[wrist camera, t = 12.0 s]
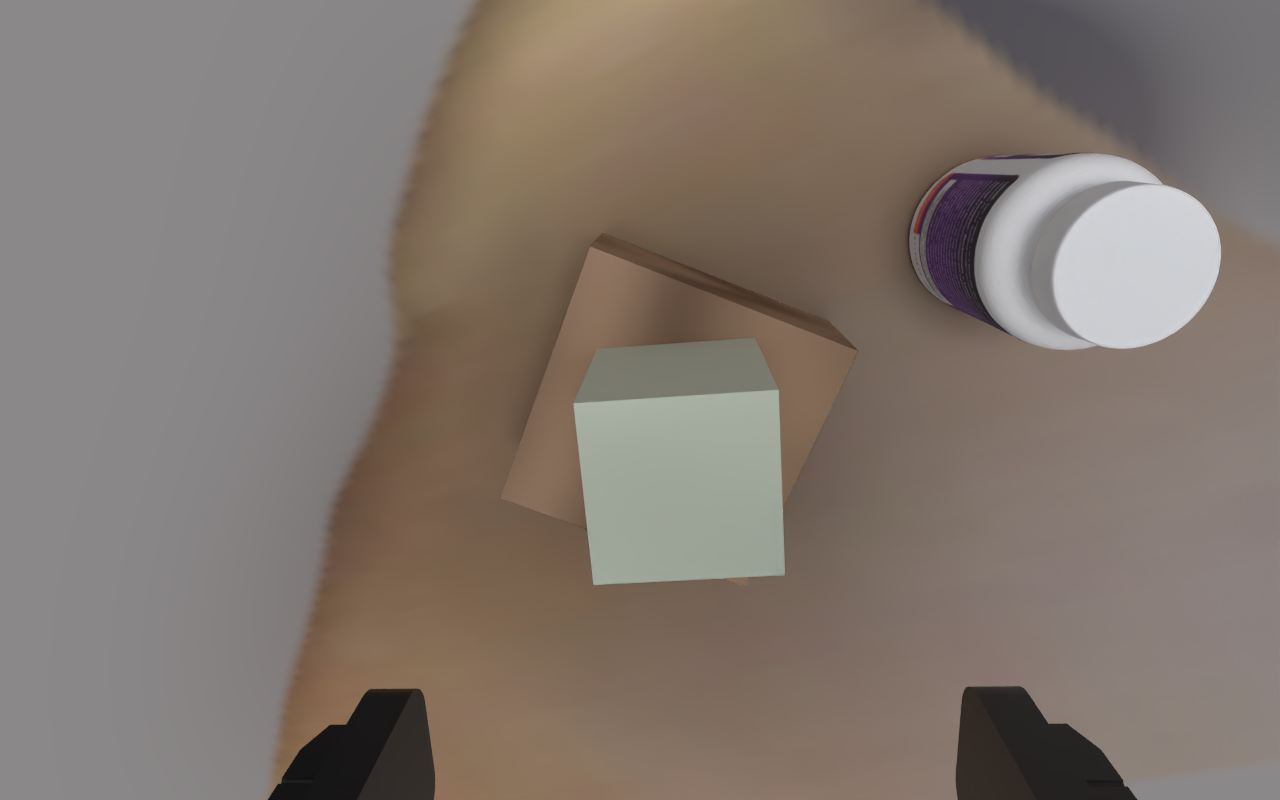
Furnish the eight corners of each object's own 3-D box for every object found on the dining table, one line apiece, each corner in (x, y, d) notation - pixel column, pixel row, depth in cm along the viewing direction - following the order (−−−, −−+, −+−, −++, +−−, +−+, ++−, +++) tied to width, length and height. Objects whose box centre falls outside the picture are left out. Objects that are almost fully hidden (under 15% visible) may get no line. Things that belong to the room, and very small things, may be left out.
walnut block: (828, 320, 30) (858, 351, 25) (734, 523, 32) (745, 587, 27) (603, 232, 29) (590, 246, 24) (525, 446, 32) (499, 497, 27)
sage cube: (755, 337, 25) (778, 389, 19) (761, 485, 26) (784, 574, 20) (597, 348, 25) (573, 403, 19) (611, 493, 27) (593, 585, 21)
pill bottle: (943, 335, 29) (1071, 415, 20) (880, 206, 28) (985, 228, 19) (1083, 262, 28) (1285, 309, 19) (1024, 125, 27) (1210, 105, 18)
